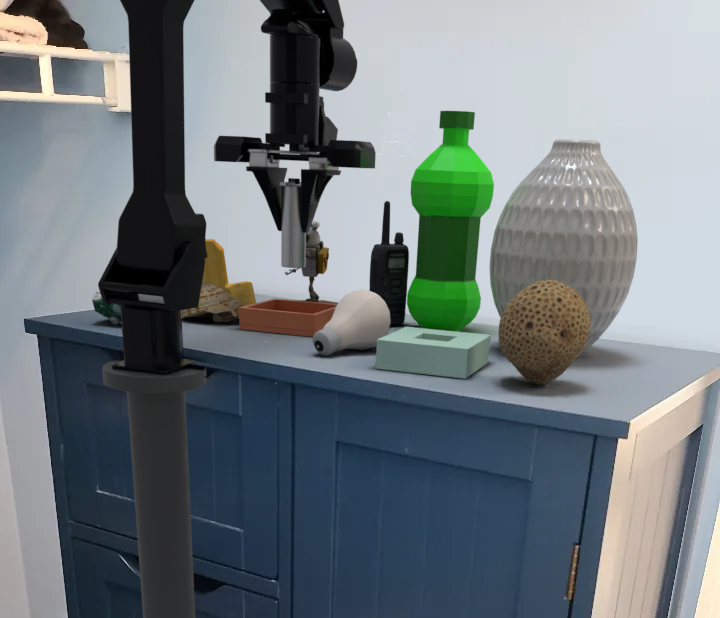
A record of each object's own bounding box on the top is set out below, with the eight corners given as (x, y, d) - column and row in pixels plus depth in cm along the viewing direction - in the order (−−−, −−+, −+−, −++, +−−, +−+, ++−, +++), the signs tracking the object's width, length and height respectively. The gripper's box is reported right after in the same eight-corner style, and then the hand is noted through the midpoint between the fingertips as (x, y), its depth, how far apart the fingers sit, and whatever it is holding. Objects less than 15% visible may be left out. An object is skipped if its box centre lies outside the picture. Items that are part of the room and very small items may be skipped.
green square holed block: (465, 379, 97) (468, 348, 95) (375, 368, 100) (376, 339, 98) (488, 362, 105) (490, 334, 104) (404, 353, 108) (405, 326, 106)
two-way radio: (378, 328, 123) (384, 201, 117) (357, 323, 126) (361, 199, 120) (410, 325, 127) (417, 201, 120) (389, 320, 130) (395, 199, 123)
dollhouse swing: (258, 304, 138) (258, 236, 134) (225, 312, 130) (223, 240, 126) (197, 298, 142) (194, 231, 137) (161, 305, 134) (157, 235, 130)
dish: (314, 337, 115) (314, 314, 114) (239, 329, 118) (238, 307, 117) (344, 325, 124) (345, 304, 123) (274, 318, 127) (274, 298, 126)
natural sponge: (570, 399, 90) (586, 288, 86) (480, 388, 93) (491, 280, 88) (588, 382, 98) (603, 279, 93) (505, 372, 101) (515, 272, 96)
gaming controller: (104, 334, 121) (80, 304, 116) (114, 309, 122) (91, 278, 117) (166, 342, 118) (144, 311, 113) (176, 316, 119) (155, 284, 114)
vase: (646, 356, 112) (682, 144, 102) (570, 372, 102) (601, 138, 92) (534, 336, 122) (556, 141, 112) (453, 349, 112) (470, 135, 101)
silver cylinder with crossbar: (314, 265, 120) (316, 178, 116) (293, 269, 115) (294, 179, 110) (292, 263, 121) (293, 177, 117) (271, 267, 116) (271, 177, 111)
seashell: (223, 309, 118) (177, 277, 120) (211, 350, 121) (166, 318, 123) (263, 302, 124) (219, 272, 126) (251, 341, 127) (208, 311, 129)
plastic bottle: (495, 330, 125) (517, 114, 114) (449, 339, 118) (467, 109, 106) (434, 321, 131) (449, 114, 119) (386, 328, 123) (397, 108, 112)
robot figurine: (292, 304, 139) (293, 215, 134) (354, 309, 138) (357, 219, 132) (271, 315, 130) (271, 219, 124) (337, 319, 128) (340, 223, 123)
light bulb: (306, 376, 108) (367, 338, 114) (348, 374, 103) (408, 335, 109) (287, 319, 104) (351, 283, 110) (329, 314, 100) (393, 278, 106)
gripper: (393, 91, 113) (386, 233, 120) (252, 88, 119) (254, 224, 126) (361, 83, 104) (355, 238, 111) (209, 80, 109) (213, 228, 116)
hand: (293, 231), depth 116 cm, fingers closed on silver cylinder with crossbar, 3 cm apart
